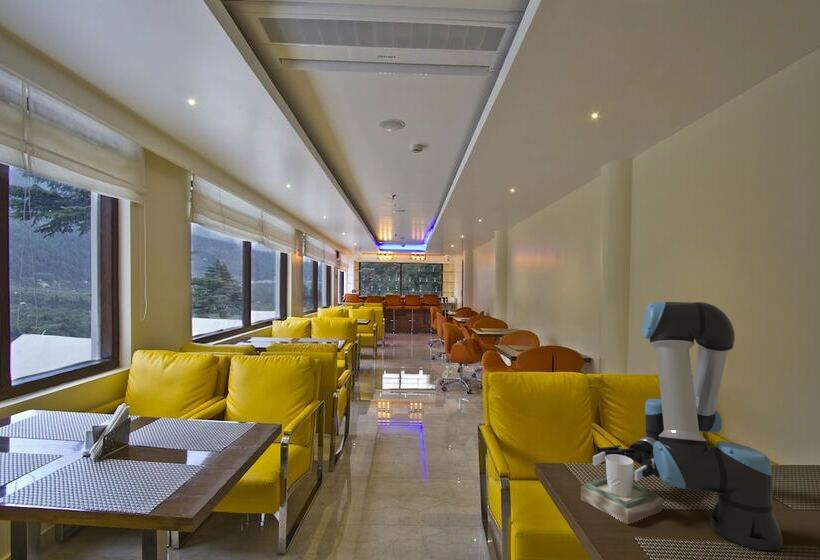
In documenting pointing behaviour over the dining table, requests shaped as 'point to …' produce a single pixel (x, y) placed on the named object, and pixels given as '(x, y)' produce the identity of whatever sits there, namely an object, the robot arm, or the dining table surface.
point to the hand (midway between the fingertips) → (614, 468)
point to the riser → (622, 501)
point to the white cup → (619, 474)
